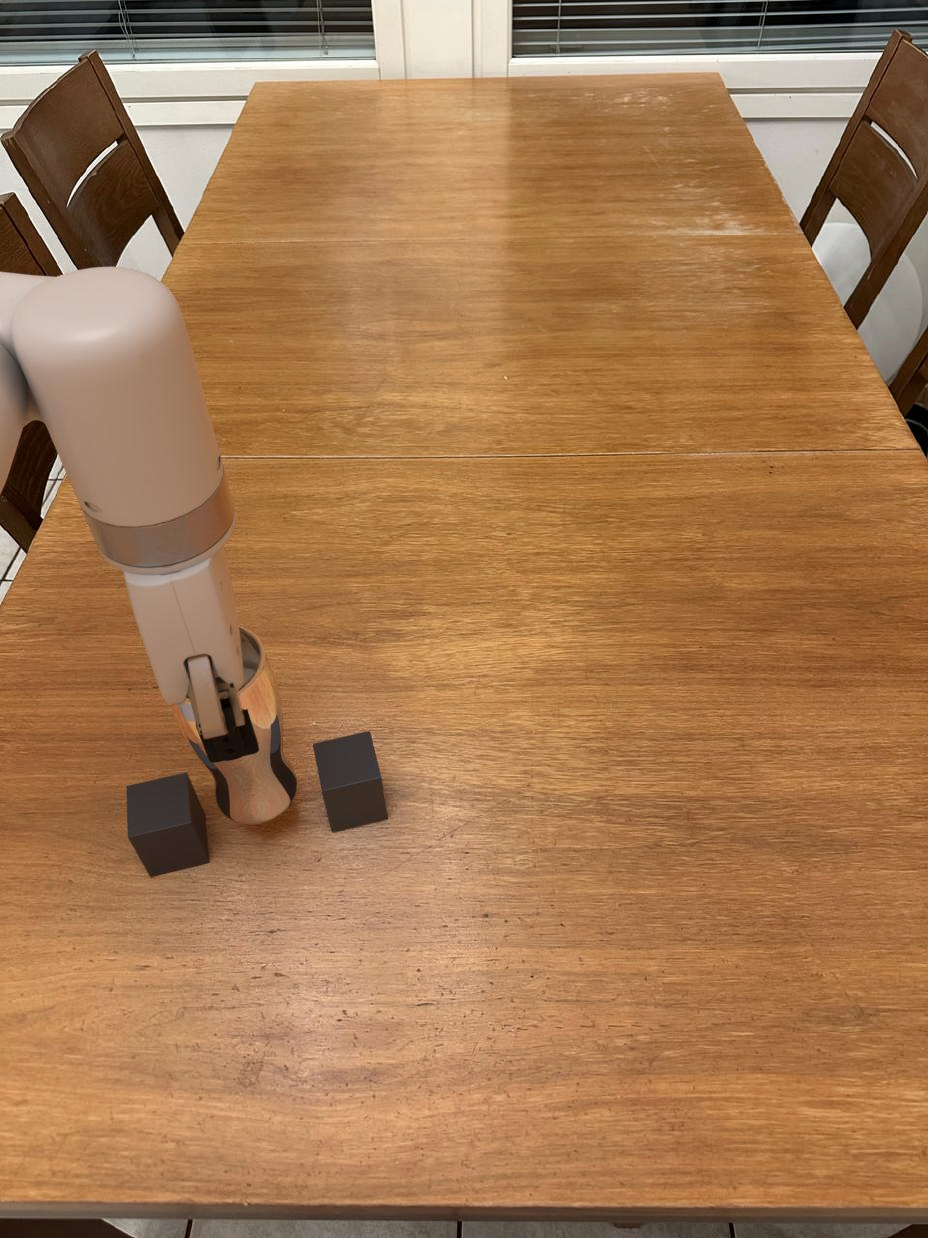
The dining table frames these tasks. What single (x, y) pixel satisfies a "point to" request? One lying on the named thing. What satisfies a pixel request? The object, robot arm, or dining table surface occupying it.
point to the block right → (350, 781)
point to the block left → (167, 824)
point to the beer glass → (266, 776)
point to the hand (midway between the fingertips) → (228, 707)
